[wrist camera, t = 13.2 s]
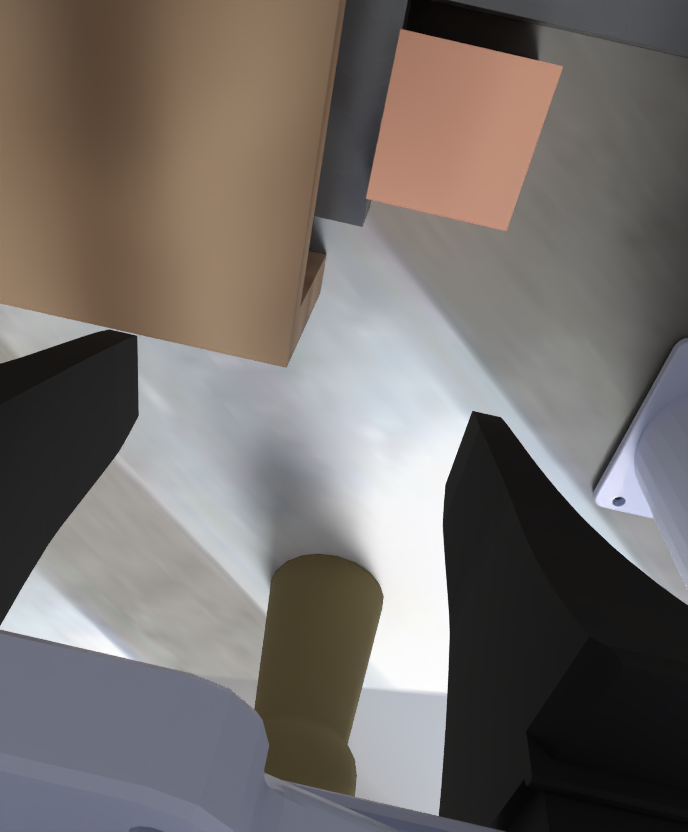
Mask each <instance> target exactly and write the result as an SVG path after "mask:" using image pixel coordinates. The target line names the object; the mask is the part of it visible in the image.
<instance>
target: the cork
mask: <svg viewBox="0 0 688 832" xmlns="http://www.w3.org/2000/svg"><path fill="white" fill-rule="evenodd" d="M382 605H383V594H382V591H381V588H380V585H379V583H378V582H377V581H376V580H375V579H374V577H373V576H372V575H371V574H370V573H369V572H368V571H366V570H365V569H363V568H362V567H360V566H359V565H357V564H356V563H354V562H351V561H348V560H346V559H343V558H340V557H337V556H329V555H322V554H316V555H307V556H300V557H298V558H295V559H293V560H290V561H288V562H286V563H285V564H284V565H282V566H281V567H280V568H279V569H278V570H277V571H276V573H275V575H274V577H273V579H272V581H271V587H270V595H269V603H268V610H267V618H266V625H265V633H264V641H263V648H262V656H261V663H260V671H259V678H258V686H257V694H256V701H255V709H254V710H255V711H256V712H257V713H258V714H259V716H260V717H261V718H262V720H263V724H264V727H265V731H266V735H267V739H268V742H269V749H268V754H267V758H266V763H265V768H264V773H266V774H269V775H271V776H273V777H276V778H278V779H280V780H284V781H288V782H292V783H297V784H301V785H305V786H310V787H314V788H318V789H323V790H327V791H331V792H336V793H340V794H344V795H349V796H353V797H355V788H356V777H357V774H356V766H355V759H354V757H353V755H352V753H351V751H350V748H349V747H348V745H347V744H348V740H349V736H350V733H351V729H352V725H353V721H354V716H355V713H356V709H357V705H358V701H359V697H360V693H361V689H362V685H363V681H364V678H365V674H366V670H367V666H368V662H369V658H370V654H371V650H372V646H373V642H374V638H375V634H376V630H377V627H378V623H379V619H380V615H381V611H382Z"/></svg>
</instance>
